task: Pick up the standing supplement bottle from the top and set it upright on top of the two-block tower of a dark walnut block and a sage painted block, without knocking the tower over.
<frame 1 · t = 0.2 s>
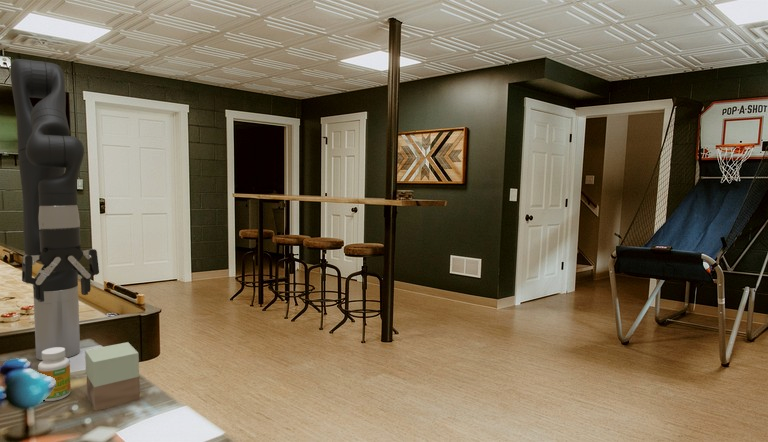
hand: (63, 297, 108), 18 cm above the table, tool pointing down, fingers open, 8 cm apart
tower base: (113, 398, 99), on the table, touching tower top
supplement bottle: (55, 396, 99), on the table
tower top: (112, 375, 99), point 5 cm above the table, touching tower base
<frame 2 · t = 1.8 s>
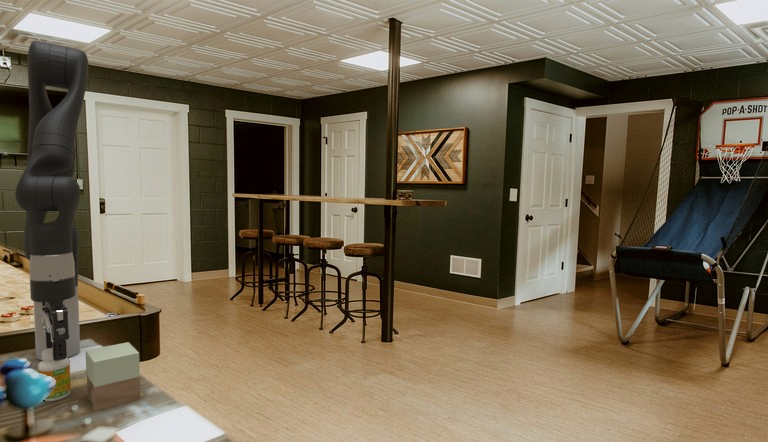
hand: (56, 353, 98), 9 cm above the table, tool pointing down, fingers open, 8 cm apart
nothing on the table moved.
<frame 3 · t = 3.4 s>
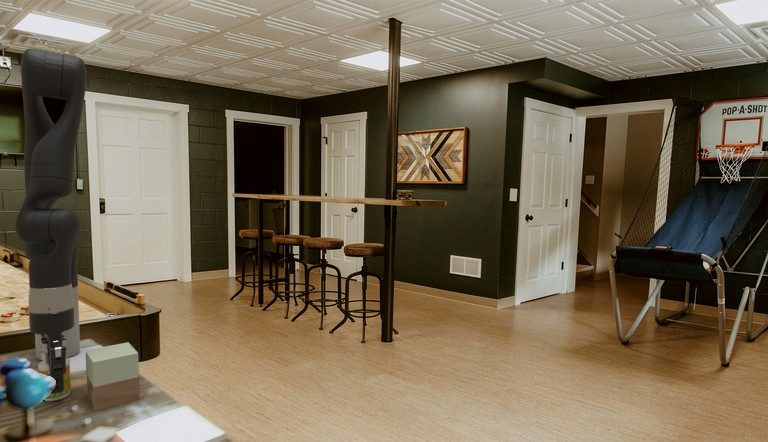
hand: (54, 386, 99), 2 cm above the table, tool pointing down, fingers closed on supplement bottle, 5 cm apart
supplement bottle: (55, 396, 99), on the table, touching gripper
everything else where it was.
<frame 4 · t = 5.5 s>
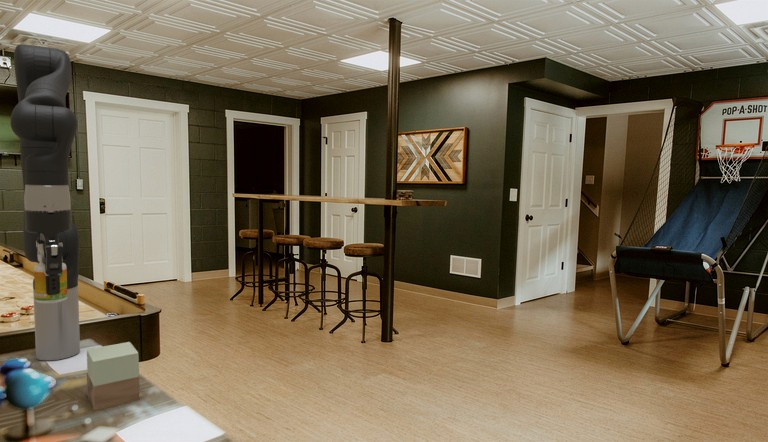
hand: (51, 290, 97), 22 cm above the table, tool pointing down, fingers closed on supplement bottle, 5 cm apart
supplement bottle: (51, 301, 97), point 20 cm above the table, touching gripper
everything else where it was.
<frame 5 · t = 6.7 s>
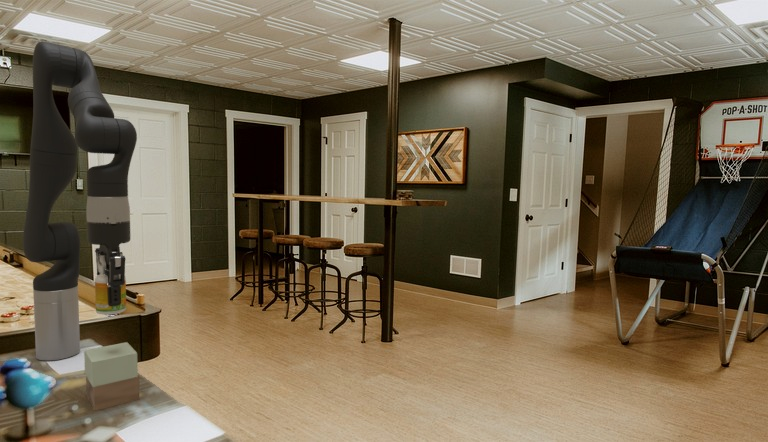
hand: (110, 301, 97), 20 cm above the table, tool pointing down, fingers closed on supplement bottle, 5 cm apart
supplement bottle: (111, 312, 98), point 18 cm above the table, touching gripper
everything else where it was.
when the fingers open (13 cm above the table, at t = 8.7 s): supplement bottle drops 1 cm, resting on tower top.
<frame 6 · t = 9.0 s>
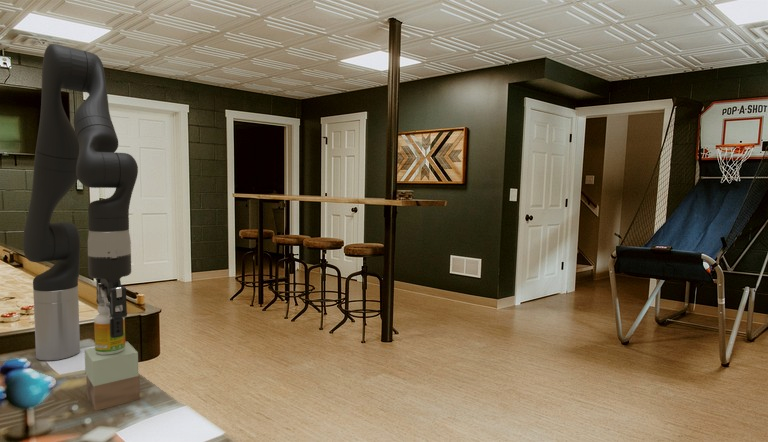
hand: (111, 331, 98), 14 cm above the table, tool pointing down, fingers open, 8 cm apart
supplement bottle: (110, 351, 98), point 10 cm above the table, touching tower top
tower top: (111, 374, 99), point 5 cm above the table, touching supplement bottle, tower base
everything else where it was.
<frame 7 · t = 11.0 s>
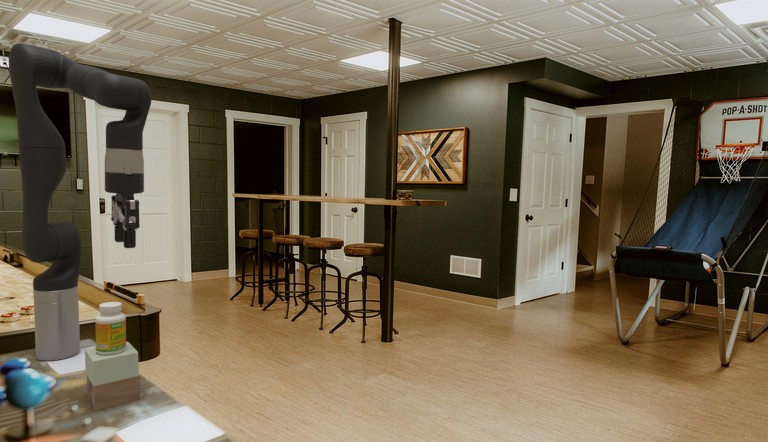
hand: (124, 244, 106), 30 cm above the table, tool pointing down, fingers open, 8 cm apart
nothing on the table moved.
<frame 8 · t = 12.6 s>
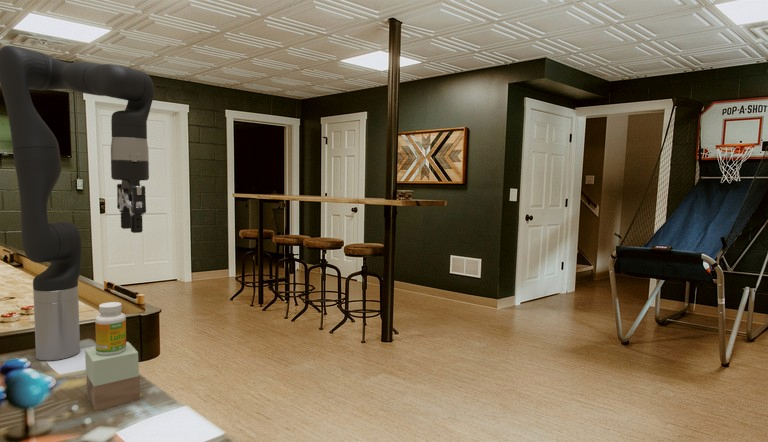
hand: (131, 230, 110), 33 cm above the table, tool pointing down, fingers open, 8 cm apart
nothing on the table moved.
at the end: supplement bottle 0.0 cm off-centre on the tower top, point 4.8 cm above the tower top's base; tower top point 4.9 cm above the table; supplement bottle tilted 1° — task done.
